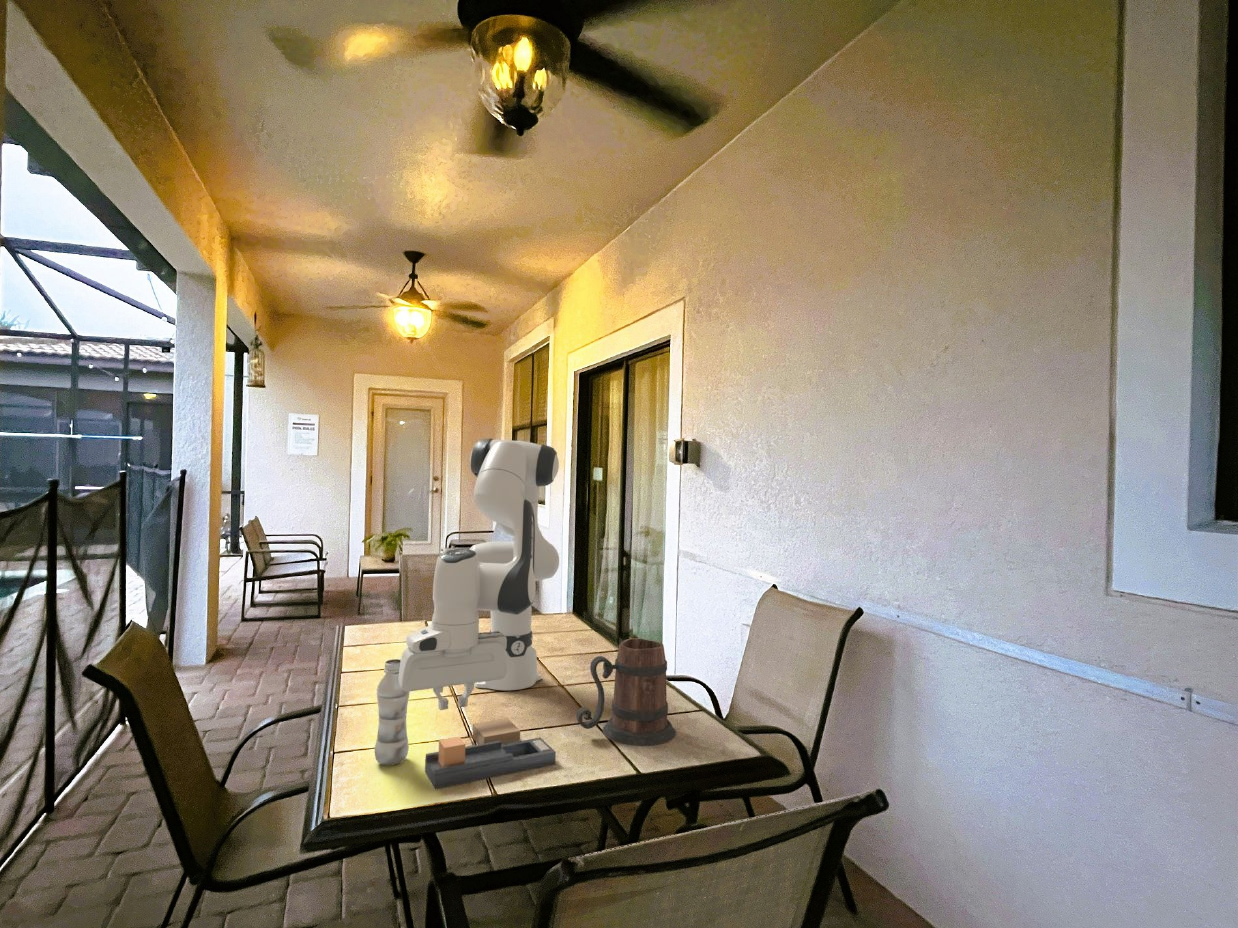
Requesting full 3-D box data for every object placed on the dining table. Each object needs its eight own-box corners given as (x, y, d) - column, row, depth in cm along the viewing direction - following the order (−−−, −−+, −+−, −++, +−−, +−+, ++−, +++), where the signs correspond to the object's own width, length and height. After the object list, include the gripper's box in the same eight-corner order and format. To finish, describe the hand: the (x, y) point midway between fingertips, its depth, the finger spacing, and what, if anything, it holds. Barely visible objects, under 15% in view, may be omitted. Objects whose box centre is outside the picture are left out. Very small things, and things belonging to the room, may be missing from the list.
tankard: (656, 713, 162) (658, 632, 162) (689, 740, 146) (691, 650, 147) (565, 725, 153) (567, 638, 153) (589, 754, 138) (592, 658, 138)
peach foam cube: (438, 760, 127) (439, 739, 127) (458, 756, 129) (459, 736, 129) (443, 769, 124) (444, 747, 124) (464, 765, 126) (465, 743, 126)
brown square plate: (472, 737, 145) (472, 723, 145) (507, 731, 149) (507, 717, 149) (483, 751, 138) (484, 736, 138) (519, 744, 142) (520, 730, 142)
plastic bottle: (412, 755, 135) (415, 657, 135) (402, 769, 128) (405, 666, 128) (380, 754, 135) (383, 656, 135) (369, 769, 128) (372, 666, 128)
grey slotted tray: (424, 771, 128) (425, 753, 128) (540, 749, 140) (540, 732, 140) (434, 789, 121) (435, 770, 121) (555, 764, 133) (555, 746, 133)
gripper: (501, 626, 134) (499, 694, 134) (397, 636, 124) (395, 709, 124) (512, 633, 129) (510, 704, 129) (404, 644, 119) (402, 721, 119)
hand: (453, 707), depth 126 cm, fingers open, 2 cm apart
